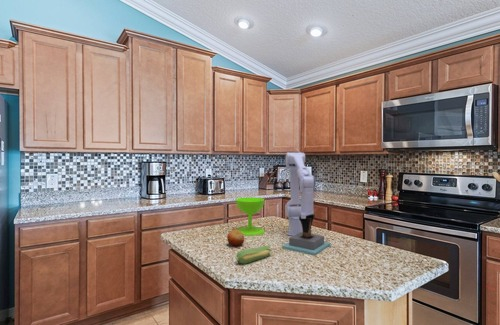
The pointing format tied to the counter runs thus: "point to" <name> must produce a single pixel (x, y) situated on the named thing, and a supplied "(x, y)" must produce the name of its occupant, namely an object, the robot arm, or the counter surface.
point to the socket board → (313, 252)
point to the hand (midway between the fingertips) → (306, 231)
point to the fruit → (235, 238)
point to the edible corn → (252, 254)
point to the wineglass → (250, 214)
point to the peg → (307, 235)
